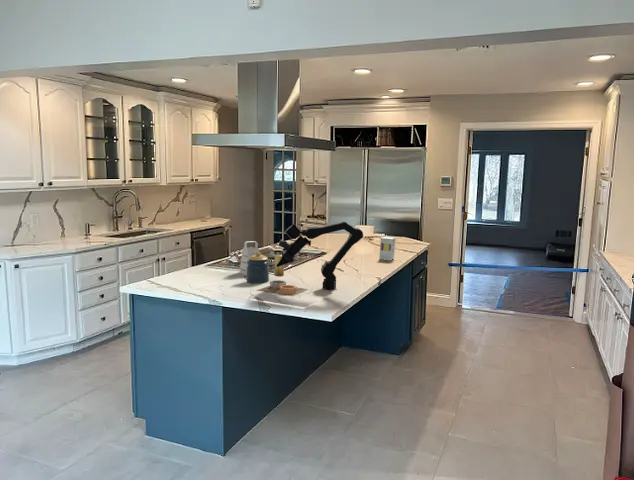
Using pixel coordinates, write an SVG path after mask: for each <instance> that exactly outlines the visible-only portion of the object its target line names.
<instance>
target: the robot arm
mask: <svg viewBox="0 0 634 480" xmlns="http://www.w3.org/2000/svg"><path fill="white" fill-rule="evenodd" d="M342 230H344V231H346V232H347V233H349V235H348V237H347V240H346V241H344V243H343V245H341V247H340V249H338V251H337V252H336V253H335V254H334V256H333V257H332V258H331V259H330V260H329V261H327V260H325V262H324V263H323V264H322V265H321V269H320V272H321V275H322V277H324V278H323V281H322V289H323V290H327V291H335V290H336V291H338V290H337V289H338V288H337V277H336V275H335V273H334V272H335V270H336V268H337V265H338V264H339V263H340V262H341V261H342V259H343V258H344V257H345V256H346V254H347V253H348V252H349V251H350V249H351V248H352V247H353V246H354V245H355V244H357V243H359V241H360V240H362V239H363V237H364V232H363V230H361V229H360V228H358V227H353V226H352V225H350V224H349V223H348V222H346V221H341V222H337V223H333V224H330V225H323V226H311V227H307V228H306V229H299V227H298V226H297V225H296V224H295V223H292V225H290V226H288V228H287V229H286V230H285V231H284V233H285V234H286V235H287V236H288V237H289V239H291V240H294V241H293V242H290V243H289V242H288V241H287V240H283V239H280V240H279V242H278V246H279V247H280V248H281V247H282V249H281V255H282V258H281V260H280V261H279V262H278V264H277V265H276V266H277V267H279V266H282V265H284V266H285V265H288V264H292V263H293V262H294V260H295V256H297V254H298V253H300V252H301V251H302V249H303V248H305V247H306V246H307V245H308V246H309V247H311V243H312V240H313V239H315V238H318V237H320V236H322V235H326V234H329V233H334V232H339V231H342Z"/></svg>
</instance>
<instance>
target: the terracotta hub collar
mask: <svg viewBox="0 0 634 480" xmlns="http://www.w3.org/2000/svg"><path fill="white" fill-rule="evenodd" d="M296 288H298V287H297V286H296V285H291V284H286V285H282V286H280V293H281V294H280V295H282V294H295V293H296Z"/></svg>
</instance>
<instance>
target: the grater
mask: <svg viewBox="0 0 634 480" xmlns="http://www.w3.org/2000/svg"><path fill="white" fill-rule="evenodd" d="M248 243H255V245H254V246H253V247H251V246H250V247H248V245H247V244H248ZM243 246H244V247H242V251H241V252H242V253H241V259H240V266H239V274H240V275H241V274H242V275H244V276H246V277H247V265H248V264H247V261H248V260H249V259H248V258H249V257H250V256H252V255H256V253H257V252H260V249H259V248H258V246H259V243H258V242H257V241H255V240H253V241H252V240H249V241H248V240H246V241H244V244H243Z"/></svg>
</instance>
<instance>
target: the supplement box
mask: <svg viewBox="0 0 634 480" xmlns="http://www.w3.org/2000/svg"><path fill="white" fill-rule="evenodd" d="M395 249H396V237H390V236H382V237H380V244H379V257H378V258H379V259H385V260H392V259H394V260H395V252H396V251H395ZM392 261H393V260H392Z"/></svg>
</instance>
